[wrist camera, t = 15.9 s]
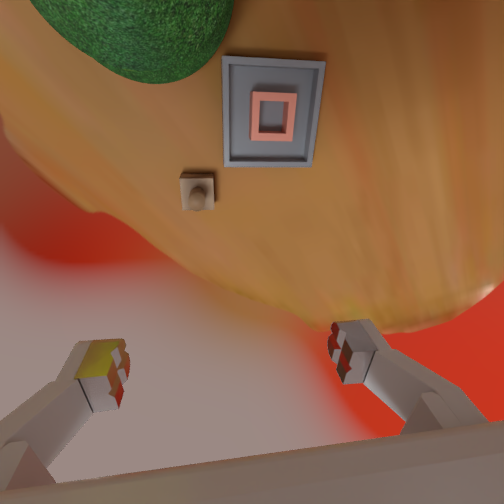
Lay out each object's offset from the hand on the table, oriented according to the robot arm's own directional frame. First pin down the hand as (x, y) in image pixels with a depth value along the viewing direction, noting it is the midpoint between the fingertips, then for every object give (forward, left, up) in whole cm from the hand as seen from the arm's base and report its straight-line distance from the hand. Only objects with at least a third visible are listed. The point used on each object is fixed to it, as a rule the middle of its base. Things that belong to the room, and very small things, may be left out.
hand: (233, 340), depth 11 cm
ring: (-8, -6, -36) cm, 38 cm away
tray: (-8, -6, -37) cm, 38 cm away
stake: (+3, +5, -37) cm, 38 cm away
